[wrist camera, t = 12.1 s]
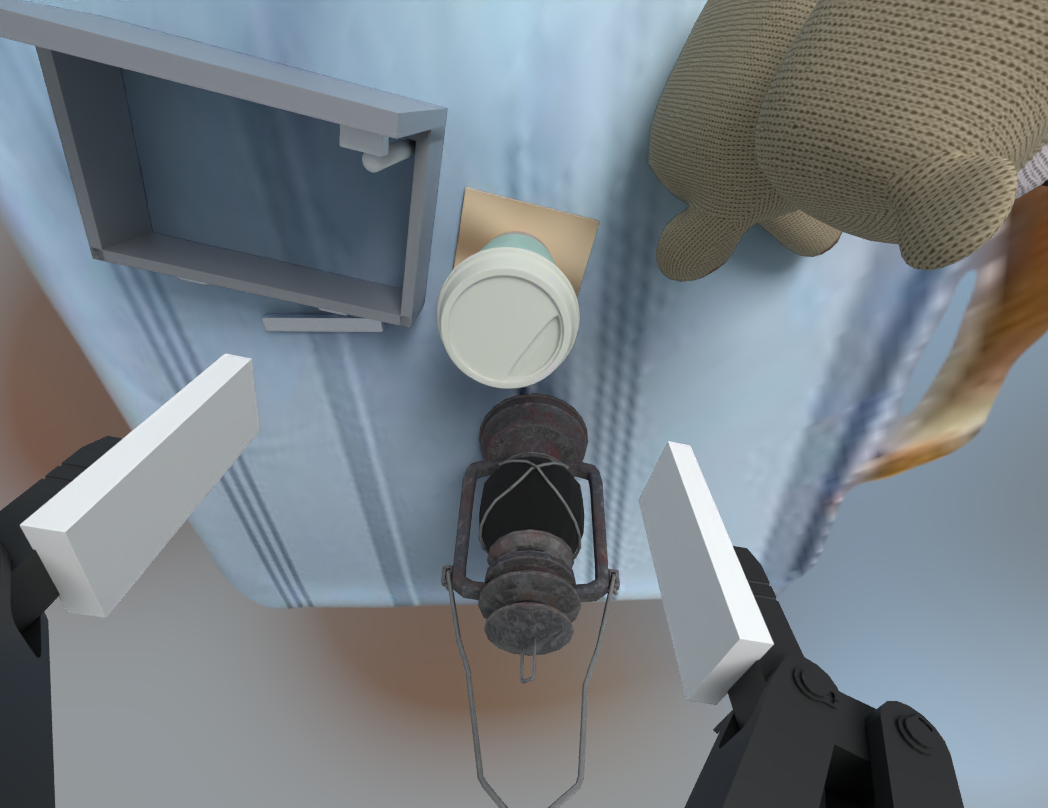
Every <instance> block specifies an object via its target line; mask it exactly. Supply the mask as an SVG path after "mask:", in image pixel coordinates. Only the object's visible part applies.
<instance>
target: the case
mask: <svg viewBox="0 0 1048 808" xmlns="http://www.w3.org/2000/svg"><path fill="white" fill-rule="evenodd" d="M0 37H3V38H7V39H11V40H15V41H19V42H23V43H27V44H31V45H34V46H36V50H37V54H38V57H39V61H40V65H41V69H42V72H43V76H44V80H45V83H46V87H47V91H48V94H49V98H50V102H51V105H52V109H53V113H54V117H55V120H56V124H57V128H58V131H59V135H60V139H61V142H62V146H63V150H64V154H65V157H66V161H67V165H68V168H69V172H70V176H71V179H72V183H73V187H74V190H75V194H76V198H77V202H78V205H79V209H80V213H81V216H82V220H83V224H84V227H85V231H86V235H87V238H88V242H89V246H90V250H91V253H92V257H93V259H98V260H102V261H107V262H111V263H116V264H121V265H125V266H130V267H134V268H139V269H143V270H148V271H153V272H157V273H162V274H166V275H171V276H175V277H178V279H180V280H185V281H189V282H194V283H198V284H203V285H209V284H212V285H217V286H221V287H226V288H230V289H235V290H239V291H244V292H248V293H253V294H258V295H262V296H267V297H271V298H276V299H280V300H285V301H290V302H294V303H299V304H303V305H308V306H312V307H317V308H319V310H322V311H327V312H331V313H336V314H340V315H345V316H346V315H347V314H349V315H354V316H358V317H363V318H367V319H372V320H376V321H381V322H386V323H390V324H395V325H399V326H404V327H408V328H411V326H412V324H413V322H414V321H415V319H416V317H417V315H418V314H419V312H420V310H421V308H422V307H423V305H424V302H425V294H426V285H427V277H428V268H429V260H430V251H431V243H432V235H433V226H434V218H435V209H436V201H437V192H438V184H439V176H440V167H441V159H442V150H443V142H444V134H445V125H446V117H447V108H444V107H440V106H436V105H433V104H429V103H425V102H421V101H418V100H414V99H410V98H406V97H403V96H399V95H395V94H391V93H388V92H384V91H380V90H376V89H373V88H369V87H365V86H361V85H358V84H354V83H350V82H346V81H343V80H339V79H335V78H332V77H328V76H324V75H320V74H317V73H313V72H309V71H305V70H302V69H298V68H294V67H290V66H287V65H283V64H279V63H275V62H272V61H268V60H264V59H260V58H257V57H253V56H249V55H245V54H242V53H238V52H234V51H230V50H227V49H223V48H219V47H215V46H212V45H208V44H204V43H200V42H197V41H193V40H189V39H185V38H182V37H178V36H174V35H170V34H167V33H163V32H159V31H155V30H152V29H148V28H144V27H140V26H137V25H133V24H129V23H125V22H122V21H118V20H114V19H110V18H107V17H103V16H99V15H95V14H89V13H84V12H79V11H74V10H68V9H63V8H58V7H53V6H47V5H42V4H37V3H32V2H26V1H21V0H0ZM121 68H124V69H128V70H132V71H135V72H139V73H143V74H147V75H151V76H155V77H159V78H163V79H166V80H170V81H174V82H178V83H182V84H186V85H190V86H194V87H198V88H201V89H205V90H209V91H213V92H217V93H221V94H225V95H229V96H232V97H236V98H240V99H244V100H248V101H252V102H256V103H260V104H264V105H267V106H271V107H275V108H279V109H283V110H287V111H291V112H295V113H298V114H302V115H306V116H310V117H314V118H318V119H322V120H326V121H330V122H333V123H337V124H340V146H341V147H345V148H349V149H352V150H356V151H360V152H364V154H363V156H362V162H363V165H364V167H365V168H366V169H367V170H368V171H370V172H378V171H380V170H382V169H385V168H387V167H389V166H391V165H394V164H396V163H398V162H400V161H403V160H405V159H407V158H409V157H412V156H414V155H415V161H414V172H413V183H412V194H411V205H410V216H409V227H408V238H407V249H406V260H405V271H404V282H403V289H400V288H396V287H391V286H387V285H383V284H378V283H374V282H369V281H365V280H360V279H356V278H352V277H347V276H343V275H338V274H334V273H330V272H325V271H321V270H316V269H312V268H308V267H303V266H299V265H294V264H290V263H285V262H281V261H277V260H272V259H268V258H263V257H259V256H255V255H250V254H246V253H241V252H237V251H233V250H228V249H224V248H219V247H215V246H210V245H206V244H202V243H197V242H193V241H188V240H184V239H180V238H175V237H171V236H166V235H162V234H158V233H153V232H152V227H151V221H150V216H149V211H148V206H147V201H146V196H145V191H144V186H143V181H142V175H141V170H140V165H139V160H138V155H137V150H136V145H135V140H134V135H133V129H132V124H131V119H130V114H129V109H128V104H127V99H126V94H125V89H124V83H123V78H122V73H121ZM389 137H392V138H396V139H398V138H401V137H403V138H407V139H405V140H401V141H398V142H394V143H391V144H389Z"/></svg>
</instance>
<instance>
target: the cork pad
mask: <svg viewBox="0 0 1048 808" xmlns="http://www.w3.org/2000/svg"><path fill="white" fill-rule="evenodd" d="M598 225H599V221H598V220H594V219H590V218H586V217H582V216H578V215H574V214H571V213H567V212H563V211H559V210H555V209H551V208H547V207H543V206H539V205H535V204H531V203H527V202H523V201H519V200H515V199H511V198H507V197H503V196H499V195H495V194H491V193H487V192H483V191H479V190H475V189H471V188H467V187H466V189H465V196H464V203H463V209H462V216H461V223H460V230H459V236H458V243H457V250H456V257H455V263H454V268H455V267H456V266H457V265H459V264H460V263H461V262H462V261H464V260H465V259H466V258H468V257H470V256H472V255H474V254H476V253H478V252H479V251H480V250H481V249H482V248H483V247H485V246H486V245H487V244H488V243H489V242H490V241H491V240H492V239H494V238H495V237H497V236H498V235H500V234H503V233H506V232H512V231H519V232H525V233H528V234H531V235H533V236H535V237H536V238H538V239H539V240H540V241H541V242H542V243H543V244H544V245H545V246H546V247H547V249H548V251H549V252H550V254H551V256H552V258H553V260H554V262H555V264H556V266H557V267H558V268H559V269H560V270H561V271H562V272H563V274H564V275H565V276H566V277H567V279H568V280H569V282H570V283H571V285H572V287H573V289H574V292H575V294H576V297H577V295H578V292H579V288H580V285H581V282H582V278H583V275H584V272H585V268H586V265H587V262H588V258H589V255H590V252H591V249H592V245H593V242H594V239H595V235H596V232H597V229H598Z"/></svg>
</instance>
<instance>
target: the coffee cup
mask: <svg viewBox="0 0 1048 808" xmlns="http://www.w3.org/2000/svg"><path fill="white" fill-rule="evenodd" d="M579 319H580V314H579V305H578V300H577V297H576V294H575V292H574V289H573V287H572V285H571V283H570V282H569V280H568V279H567V277H566V276H565V275H564V274H563V272H562V271H561V270H560V269H559V268H558V267H557V266H556V264H555V262H554V260H553V258H552V256H551V254H550V252H549V251H548V249H547V247H546V246H545V245H544V244H543V243H542V242H541V241H540V240H539V239H538V238H536V237H535V236H533V235H531V234H528V233H525V232H519V231H512V232H506V233H503V234H500V235H498V236H497V237H495V238H494V239H492V240H491V241H490V242H489V243H488V244H487V245H486V246H485V247H483V248H482V249H481V250H480V251H479V252H478V253H476V254H474V255H472V256H470V257H468V258H466V259H465V260H464V261H462V262H461V263H460V264H459V265H457V266H456V267H455V268H454V269H453V271H452V272H451V273H450V274H449V276H448V277H447V279H446V280H445V282H444V284H443V286H442V289H441V291H440V294H439V298H438V304H437V326H438V331H439V335H440V338H441V340H442V343H443V345H444V347H445V349H446V351H447V353H448V355H449V356H450V358H451V360H452V361H453V362H454V363H455V365H456V366H457V367H458V368H459V369H460V370H461V371H462V372H463V373H465V374H466V375H467V376H469V377H470V378H472V379H474V380H475V381H477V382H480V383H482V384H485V385H488V386H491V387H495V388H504V389H514V388H521V387H526V386H529V385H532V384H535V383H537V382H539V381H541V380H543V379H544V378H546V377H547V376H549V375H550V374H551V373H552V372H553V371H554V370H555V369H556V368H557V367H558V366H559V365H560V364H561V363H562V362H563V361H564V360H565V359H566V357H567V356H568V354H569V353H570V351H571V349H572V347H573V345H574V342H575V339H576V336H577V332H578V328H579Z"/></svg>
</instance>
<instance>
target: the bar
mask: <svg viewBox="0 0 1048 808" xmlns="http://www.w3.org/2000/svg"><path fill="white" fill-rule="evenodd" d="M262 321H263V324H264V327H265V330H266V331H320V332H383V331H384V330H385V328H386V326H385V322H381V321H376V320H372V319H367V318H363V317H358V316H354V315H349V314H347V315H346V316H345V315H340V314H266V315H264V316H263V317H262Z"/></svg>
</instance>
